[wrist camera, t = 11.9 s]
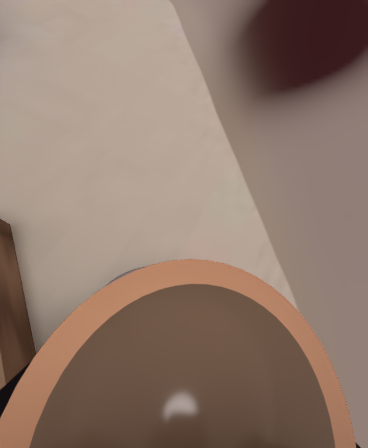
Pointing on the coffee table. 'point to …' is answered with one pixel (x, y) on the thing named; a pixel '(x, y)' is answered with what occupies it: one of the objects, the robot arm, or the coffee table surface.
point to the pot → (180, 369)
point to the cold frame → (12, 312)
